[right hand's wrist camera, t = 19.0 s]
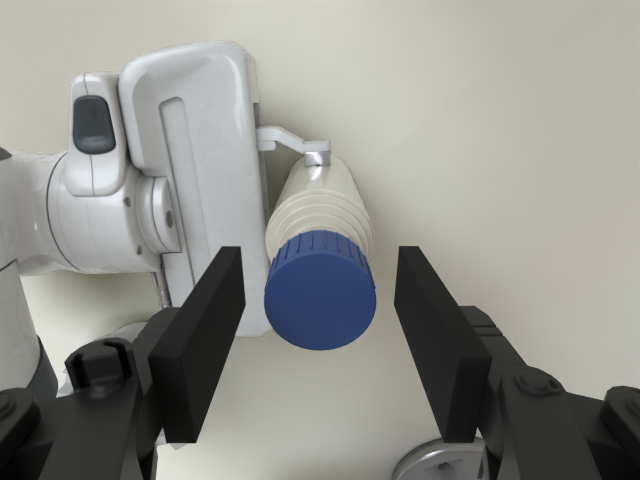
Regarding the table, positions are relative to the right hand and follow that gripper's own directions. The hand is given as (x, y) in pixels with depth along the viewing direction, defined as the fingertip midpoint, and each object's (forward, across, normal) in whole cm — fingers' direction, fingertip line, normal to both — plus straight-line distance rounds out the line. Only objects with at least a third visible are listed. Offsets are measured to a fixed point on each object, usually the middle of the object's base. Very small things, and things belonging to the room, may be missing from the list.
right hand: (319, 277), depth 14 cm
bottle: (+17, 0, 0) cm, 17 cm away
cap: (-2, 0, 0) cm, 2 cm away
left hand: (+11, -1, 0) cm, 11 cm away
